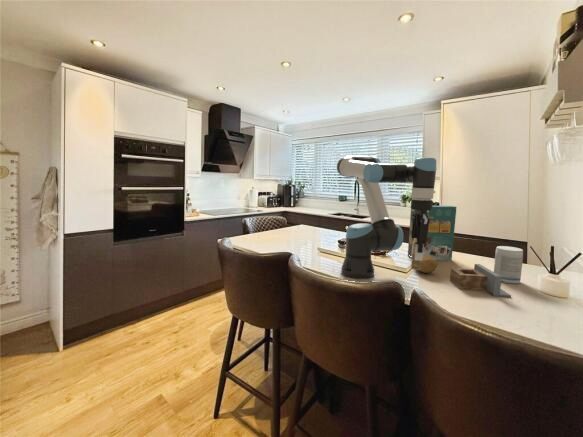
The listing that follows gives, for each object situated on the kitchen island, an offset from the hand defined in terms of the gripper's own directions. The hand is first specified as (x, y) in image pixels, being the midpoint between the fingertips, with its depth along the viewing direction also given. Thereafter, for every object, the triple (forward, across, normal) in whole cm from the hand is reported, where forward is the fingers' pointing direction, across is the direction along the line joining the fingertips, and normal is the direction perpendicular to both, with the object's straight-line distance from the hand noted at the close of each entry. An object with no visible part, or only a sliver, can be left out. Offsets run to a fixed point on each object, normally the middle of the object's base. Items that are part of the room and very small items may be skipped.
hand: (416, 258), depth 108 cm
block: (+13, +9, -24) cm, 29 cm away
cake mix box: (+14, +51, -22) cm, 58 cm away
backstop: (+13, +7, -32) cm, 35 cm away
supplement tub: (+14, +19, -44) cm, 50 cm away
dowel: (+4, 0, 0) cm, 4 cm away
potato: (+14, +25, -11) cm, 31 cm away
